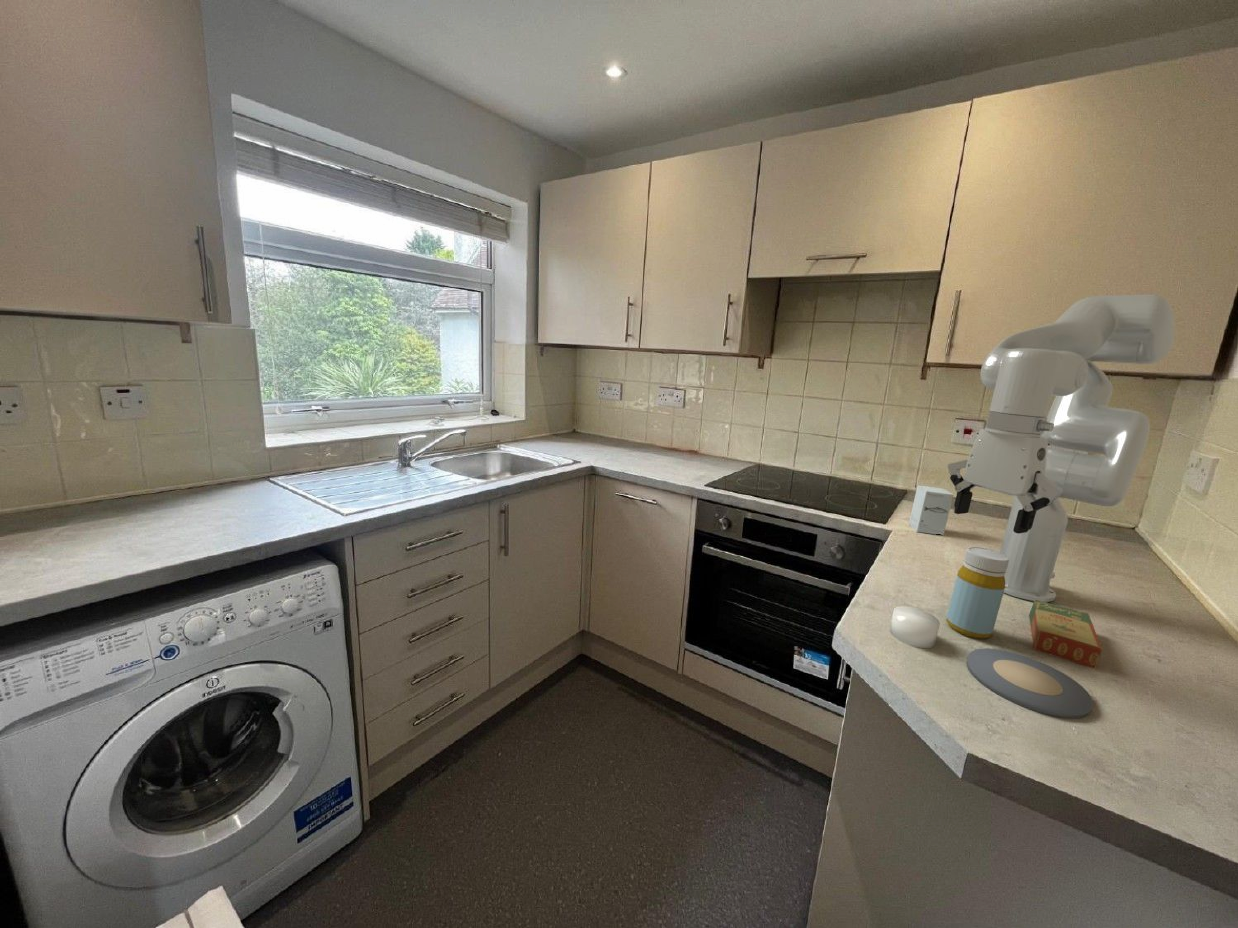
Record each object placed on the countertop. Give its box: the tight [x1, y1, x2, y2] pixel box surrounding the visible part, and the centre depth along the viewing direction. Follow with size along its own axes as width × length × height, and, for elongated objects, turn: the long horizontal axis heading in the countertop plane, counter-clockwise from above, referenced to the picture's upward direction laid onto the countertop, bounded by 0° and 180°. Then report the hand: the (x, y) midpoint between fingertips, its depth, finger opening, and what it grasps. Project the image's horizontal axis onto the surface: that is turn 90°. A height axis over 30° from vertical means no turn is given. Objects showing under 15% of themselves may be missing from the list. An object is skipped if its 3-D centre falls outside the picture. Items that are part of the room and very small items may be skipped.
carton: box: [1028, 600, 1103, 670], centre depth 90 cm, size 8×16×4 cm, turn 143°
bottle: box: [945, 546, 1009, 640], centre depth 90 cm, size 7×7×15 cm
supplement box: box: [908, 484, 954, 536], centre depth 146 cm, size 7×7×13 cm
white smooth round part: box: [888, 605, 941, 649], centre depth 87 cm, size 7×7×4 cm
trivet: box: [966, 647, 1094, 719], centre depth 76 cm, size 15×15×1 cm
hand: (989, 522), depth 87 cm, fingers open, 9 cm apart
